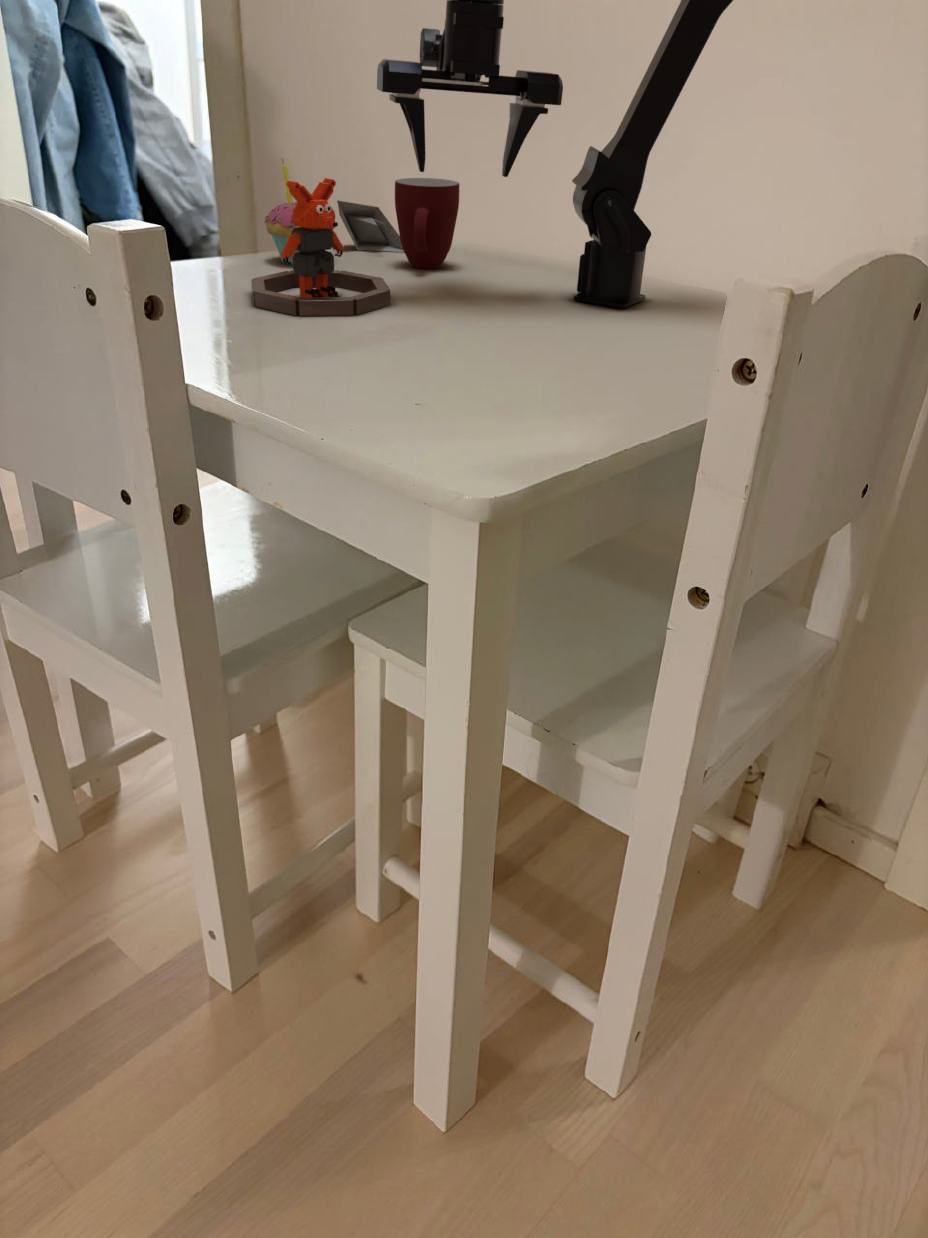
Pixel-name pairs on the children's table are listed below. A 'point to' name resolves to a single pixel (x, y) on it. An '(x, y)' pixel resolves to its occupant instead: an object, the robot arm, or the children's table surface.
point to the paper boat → (369, 227)
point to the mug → (426, 219)
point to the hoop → (320, 306)
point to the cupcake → (282, 219)
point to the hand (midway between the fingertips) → (463, 173)
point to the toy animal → (313, 238)
